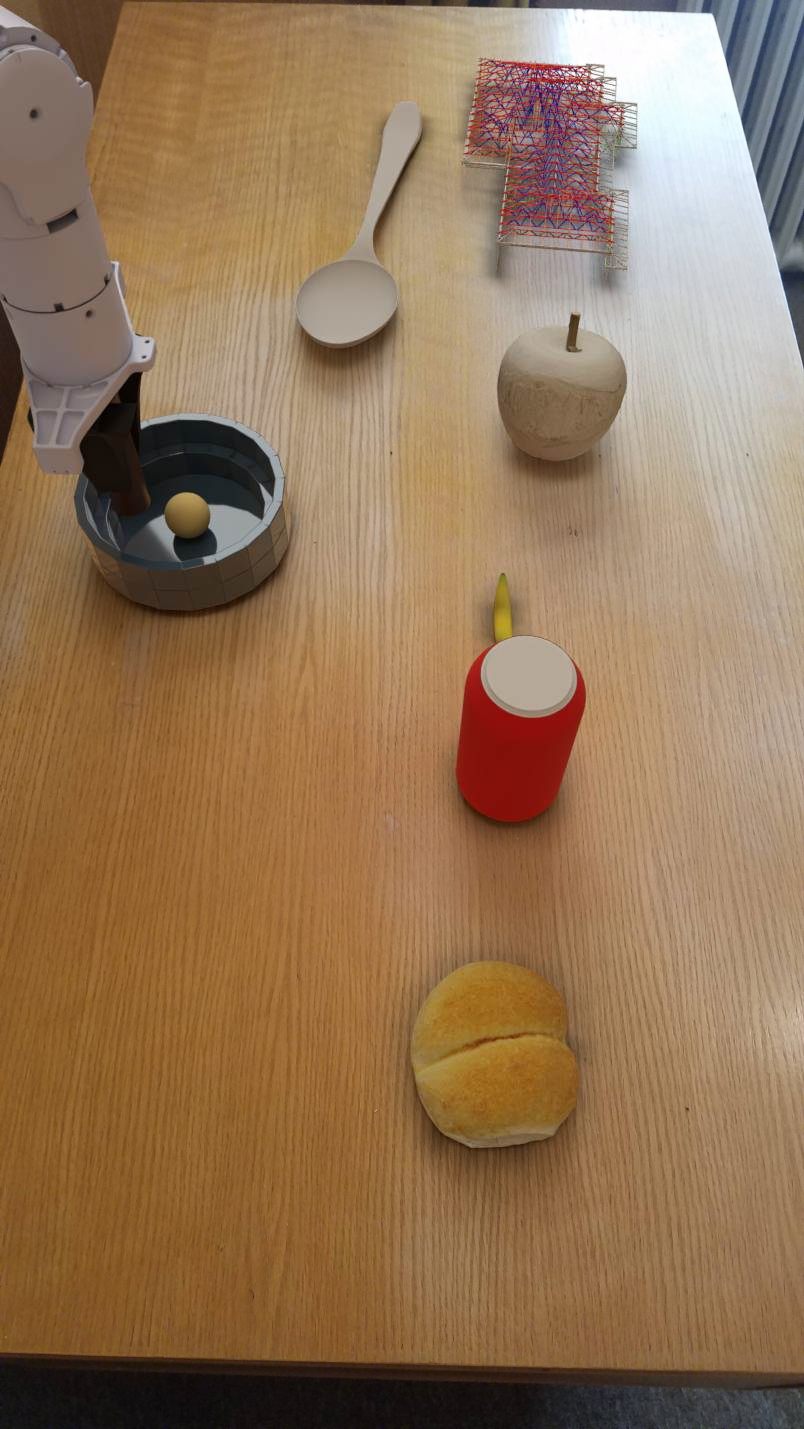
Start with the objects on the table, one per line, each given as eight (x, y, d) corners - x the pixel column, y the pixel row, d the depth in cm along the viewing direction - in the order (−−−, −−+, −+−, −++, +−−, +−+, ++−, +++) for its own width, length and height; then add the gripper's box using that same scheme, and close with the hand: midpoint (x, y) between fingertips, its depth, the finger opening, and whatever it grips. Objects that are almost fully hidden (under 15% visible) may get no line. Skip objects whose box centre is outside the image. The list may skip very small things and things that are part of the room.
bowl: (77, 615, 66) (55, 567, 62) (112, 463, 73) (95, 410, 69) (282, 620, 66) (274, 572, 62) (298, 467, 73) (292, 415, 69)
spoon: (381, 376, 77) (382, 348, 75) (280, 362, 78) (278, 333, 76) (449, 134, 96) (451, 105, 94) (366, 123, 97) (366, 94, 94)
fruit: (492, 586, 68) (496, 557, 65) (509, 586, 68) (514, 558, 65) (494, 675, 64) (498, 648, 62) (512, 675, 64) (517, 648, 62)
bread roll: (551, 961, 55) (562, 937, 52) (586, 1137, 50) (600, 1125, 47) (400, 978, 54) (400, 956, 51) (421, 1158, 50) (423, 1147, 47)
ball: (166, 547, 68) (157, 517, 66) (172, 512, 70) (163, 482, 67) (210, 548, 68) (203, 518, 66) (216, 514, 70) (209, 483, 67)
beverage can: (524, 721, 63) (549, 604, 52) (578, 802, 60) (616, 697, 49) (436, 761, 61) (444, 649, 51) (487, 846, 58) (507, 747, 48)
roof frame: (630, 294, 83) (643, 236, 78) (445, 278, 84) (448, 220, 79) (634, 91, 98) (645, 33, 93) (477, 80, 99) (481, 21, 94)
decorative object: (513, 496, 72) (529, 385, 63) (476, 410, 76) (486, 295, 67) (630, 471, 73) (661, 359, 64) (587, 388, 77) (610, 273, 69)
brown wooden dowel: (109, 516, 64) (70, 407, 56) (116, 487, 65) (78, 376, 57) (147, 517, 64) (113, 408, 56) (153, 488, 65) (120, 378, 57)
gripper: (109, 379, 47) (167, 565, 58) (156, 188, 54) (199, 388, 66) (-44, 376, 47) (45, 562, 58) (24, 185, 54) (90, 385, 66)
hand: (119, 470), depth 62 cm, fingers closed on brown wooden dowel, 2 cm apart
